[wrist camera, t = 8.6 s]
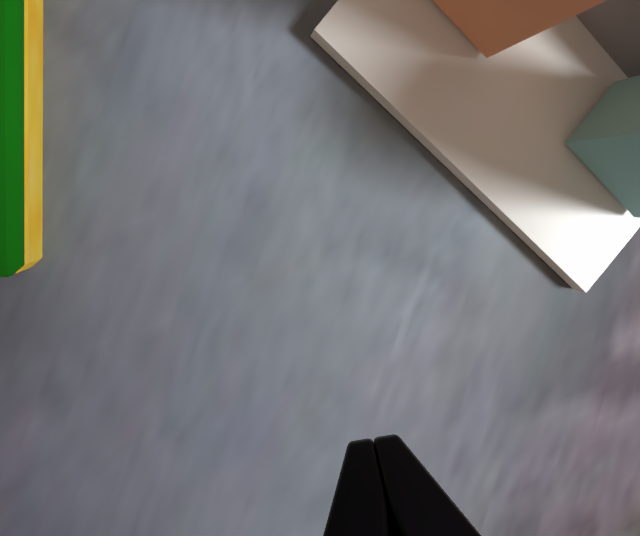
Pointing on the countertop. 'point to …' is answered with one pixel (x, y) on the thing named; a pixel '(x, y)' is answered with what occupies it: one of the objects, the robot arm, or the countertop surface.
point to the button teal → (613, 142)
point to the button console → (503, 114)
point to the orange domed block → (508, 19)
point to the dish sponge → (21, 134)
